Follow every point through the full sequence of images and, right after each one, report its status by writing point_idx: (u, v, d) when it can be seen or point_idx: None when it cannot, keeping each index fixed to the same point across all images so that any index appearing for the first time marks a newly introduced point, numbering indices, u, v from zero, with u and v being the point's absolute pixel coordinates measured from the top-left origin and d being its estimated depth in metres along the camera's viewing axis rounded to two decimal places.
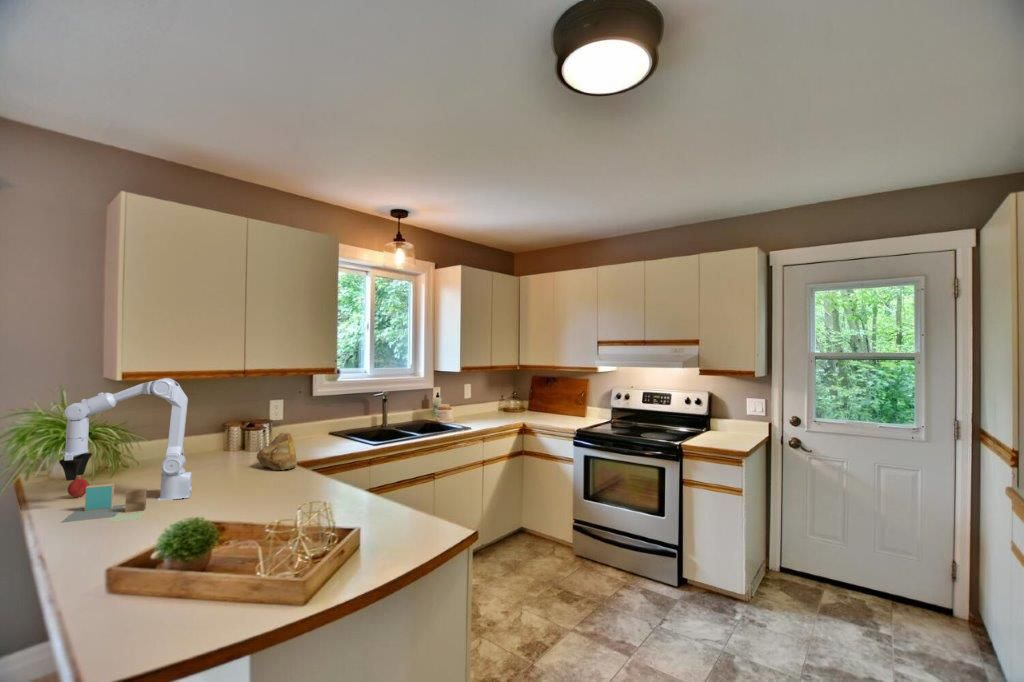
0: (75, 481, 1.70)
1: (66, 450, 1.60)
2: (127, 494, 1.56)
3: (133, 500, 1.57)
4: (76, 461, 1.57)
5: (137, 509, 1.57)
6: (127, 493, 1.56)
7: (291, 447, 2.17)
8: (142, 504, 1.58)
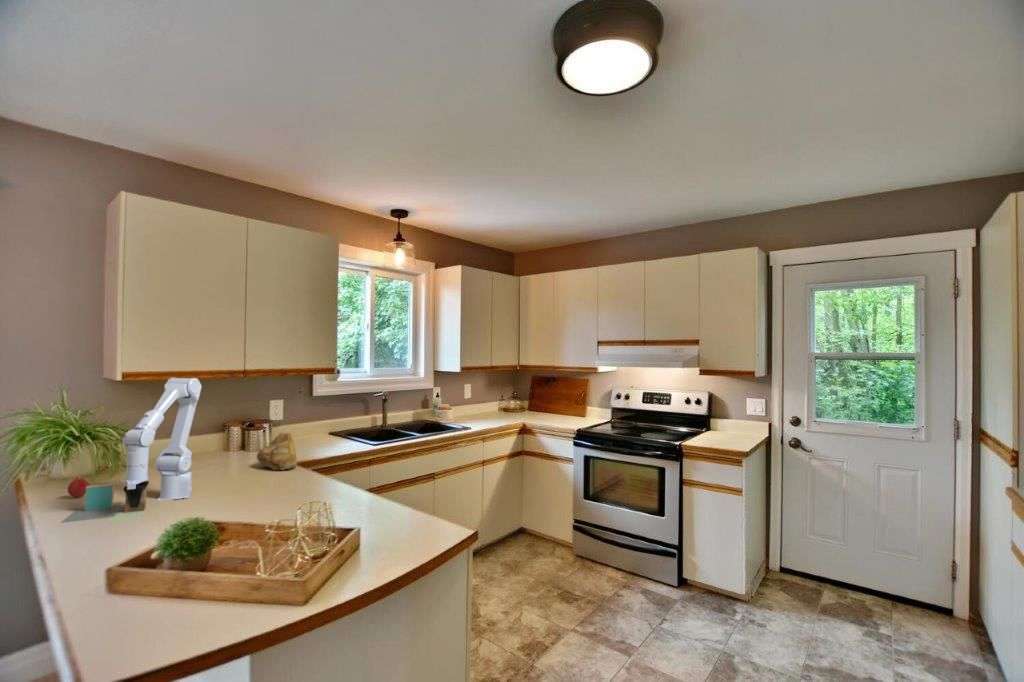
0: (75, 481, 1.70)
1: (127, 478, 1.56)
2: None
3: None
4: (140, 488, 1.56)
5: (137, 509, 1.57)
6: None
7: (291, 447, 2.17)
8: (142, 504, 1.58)
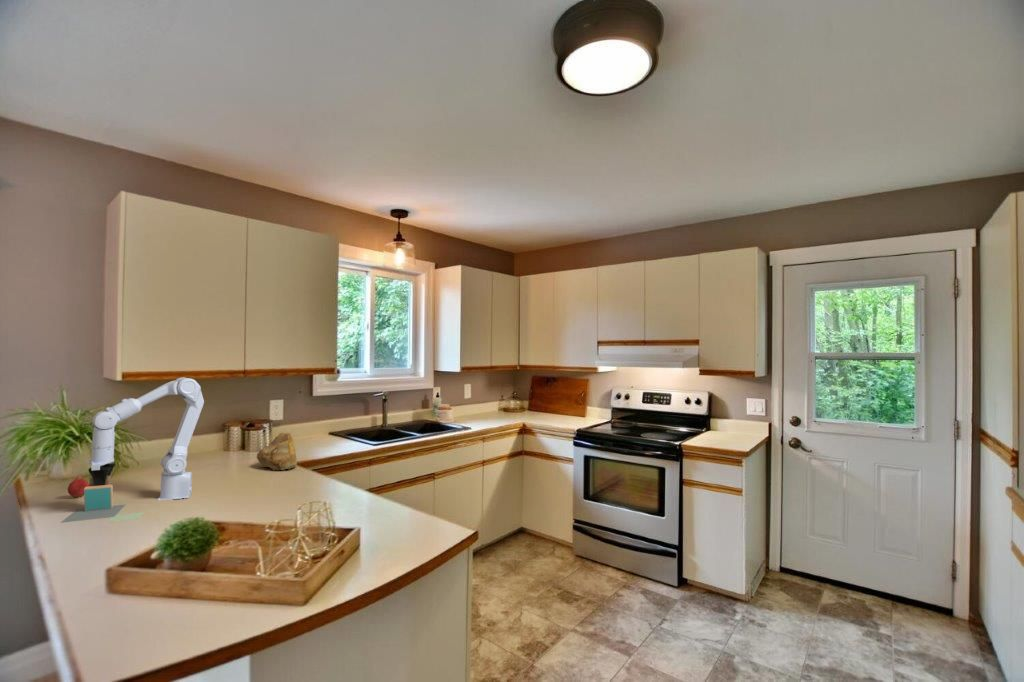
0: (75, 481, 1.70)
1: (92, 460, 1.58)
2: (91, 480, 1.58)
3: None
4: (105, 469, 1.57)
5: None
6: (91, 479, 1.58)
7: (291, 447, 2.17)
8: None
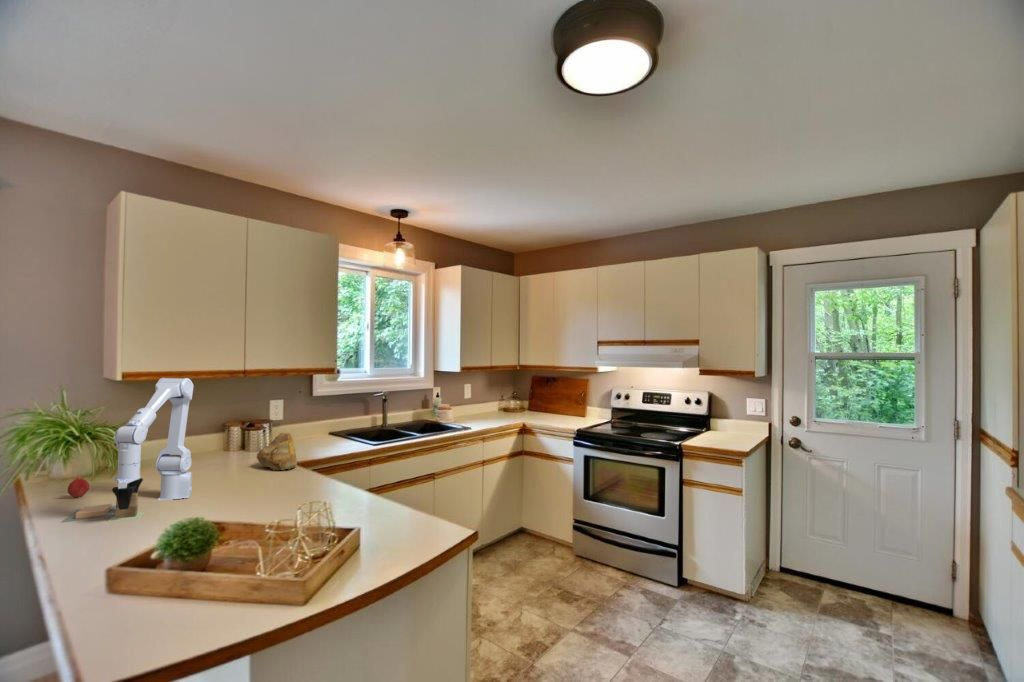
0: (75, 481, 1.70)
1: (118, 477, 1.50)
2: None
3: None
4: (130, 489, 1.48)
5: (128, 514, 1.51)
6: None
7: (291, 447, 2.17)
8: (133, 508, 1.52)
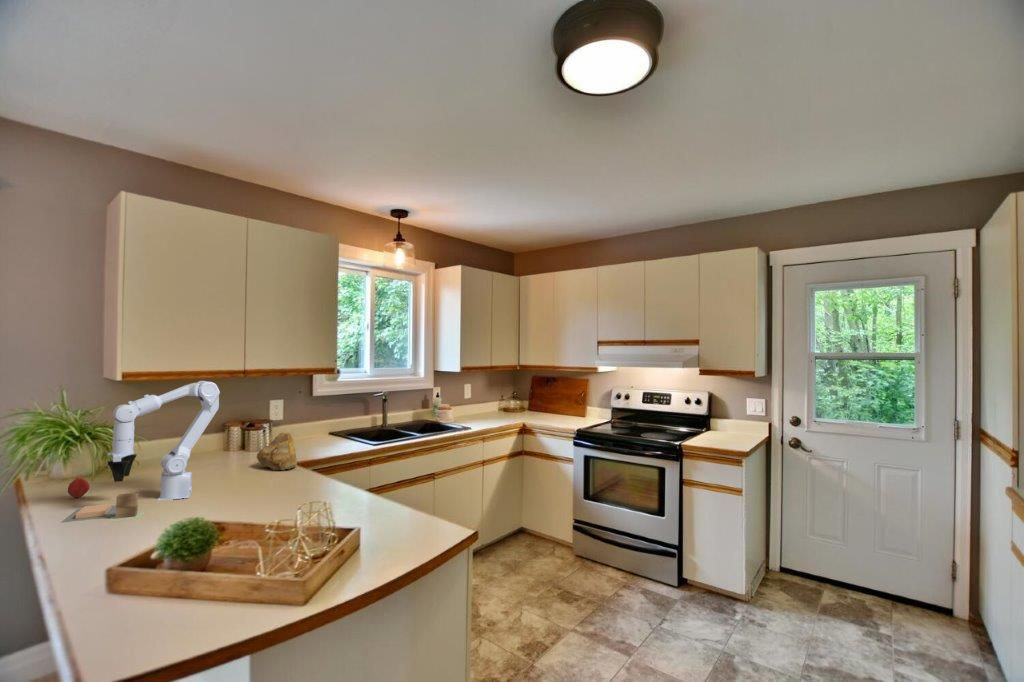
0: (75, 481, 1.70)
1: (113, 452, 1.61)
2: (118, 498, 1.50)
3: (124, 504, 1.51)
4: (124, 462, 1.59)
5: (128, 514, 1.51)
6: (118, 497, 1.50)
7: (291, 447, 2.17)
8: (133, 508, 1.52)
